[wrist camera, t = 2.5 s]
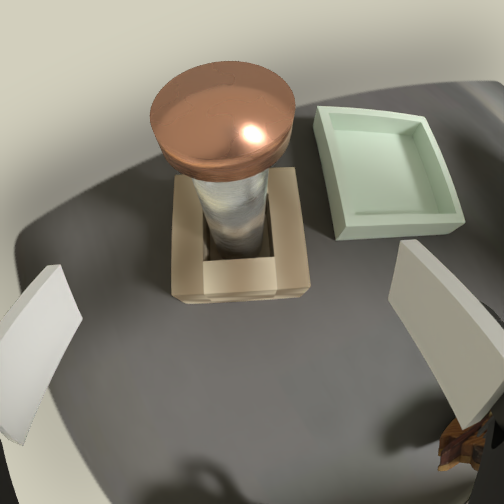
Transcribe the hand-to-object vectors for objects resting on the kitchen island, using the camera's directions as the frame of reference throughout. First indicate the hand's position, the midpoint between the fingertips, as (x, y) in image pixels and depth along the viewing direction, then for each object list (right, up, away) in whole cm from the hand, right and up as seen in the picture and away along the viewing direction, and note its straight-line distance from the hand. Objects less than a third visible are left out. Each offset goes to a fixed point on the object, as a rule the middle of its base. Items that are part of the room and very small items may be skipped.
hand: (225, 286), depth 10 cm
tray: (+15, +9, +19) cm, 26 cm away
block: (0, +2, +16) cm, 17 cm away
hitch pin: (0, +2, +15) cm, 16 cm away
